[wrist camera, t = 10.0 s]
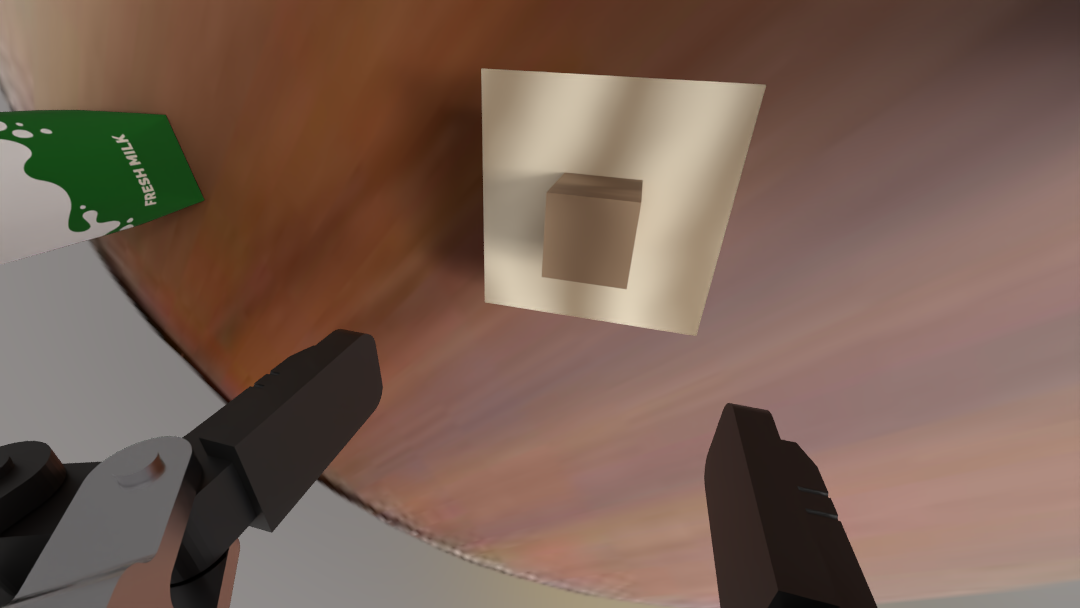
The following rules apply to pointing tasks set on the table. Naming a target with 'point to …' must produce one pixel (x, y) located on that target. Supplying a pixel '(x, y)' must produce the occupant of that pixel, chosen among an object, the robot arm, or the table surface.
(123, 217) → the milk carton
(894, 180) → the table surface
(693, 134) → the birch lid
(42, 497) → the robot arm
